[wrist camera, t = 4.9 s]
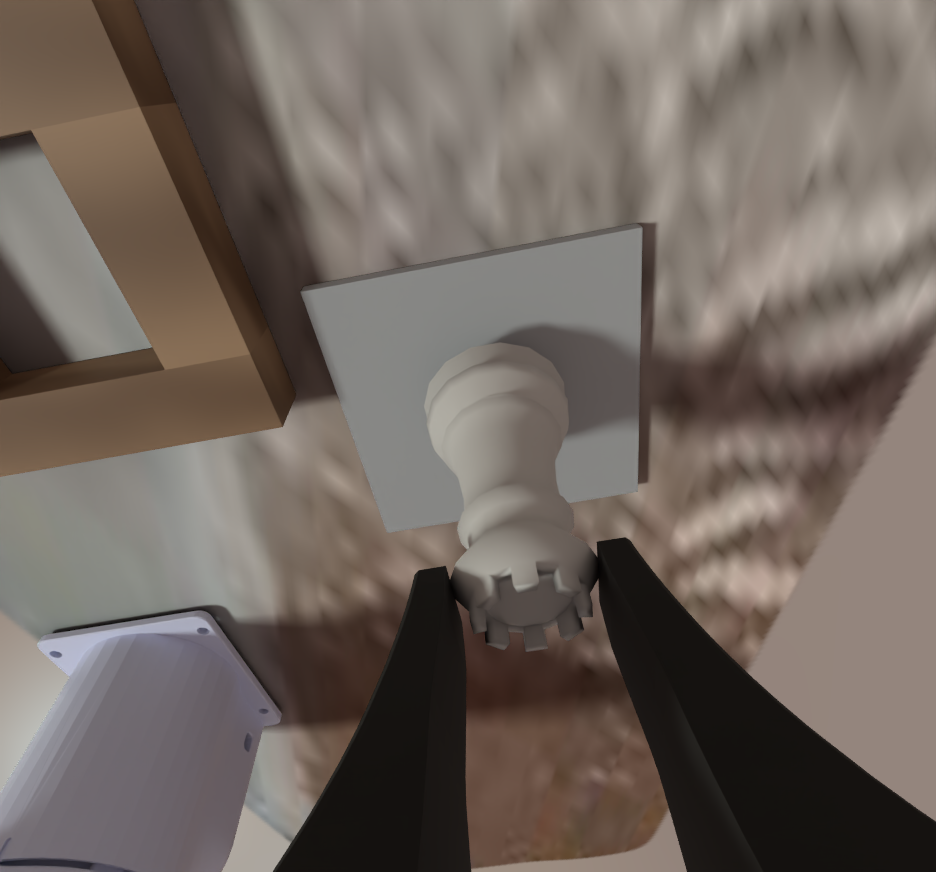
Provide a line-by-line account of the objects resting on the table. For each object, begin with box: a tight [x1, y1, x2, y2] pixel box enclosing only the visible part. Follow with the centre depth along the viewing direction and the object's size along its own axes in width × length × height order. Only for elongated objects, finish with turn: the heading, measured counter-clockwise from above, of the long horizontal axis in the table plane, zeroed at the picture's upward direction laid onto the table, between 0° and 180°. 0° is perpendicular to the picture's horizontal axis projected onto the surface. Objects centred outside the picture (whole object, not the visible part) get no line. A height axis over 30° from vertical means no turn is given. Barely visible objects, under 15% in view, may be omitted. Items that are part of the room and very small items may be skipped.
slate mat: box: [300, 223, 642, 533], centre depth 18 cm, size 10×10×1 cm
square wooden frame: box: [0, 0, 296, 477], centre depth 14 cm, size 11×11×2 cm
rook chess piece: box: [424, 342, 599, 652], centre depth 14 cm, size 4×4×8 cm
